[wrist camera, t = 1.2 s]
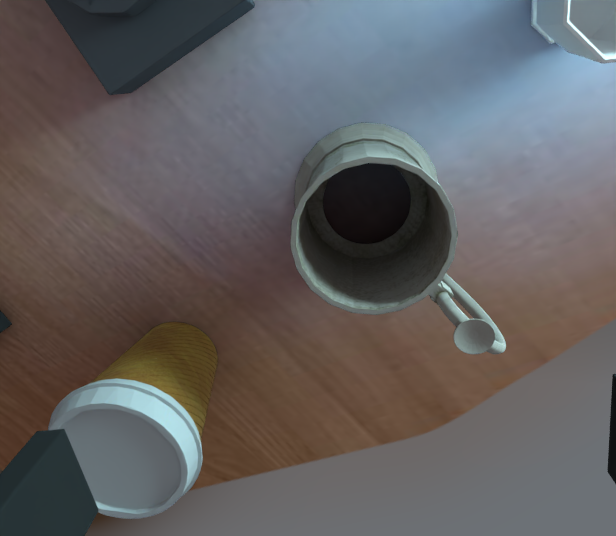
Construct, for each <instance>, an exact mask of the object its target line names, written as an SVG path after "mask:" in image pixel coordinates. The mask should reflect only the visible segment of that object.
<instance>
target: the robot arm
mask: <svg viewBox="0 0 616 536" xmlns="http://www.w3.org/2000/svg"><path fill="white" fill-rule="evenodd" d="M608 473H609V474H610V476H611V477H612V479H613V481H614V482H615V483H616V374H613V381H612V399H611V418H610V437H609V456H608ZM98 511H99V509H98V507H97V505H96V502H95V500H94V498H93V495H92V493H91V491H90V488H89V486H88V483H87V481H86V479H85V476H84V474H83V472H82V469H81V467H80V465H79V462H78V460H77V457H76V455H75V453H74V450H73V448H72V446H71V443H70V441H69V439H68V436H67V434H66V431H65V429H57V430H47V431H37V432H36V433H35V434H34V435H33V436H32V438H31V439H30V440H29V441H28V442H27V443H26V445H25V446H24V447H23V448H22V449H21V450H20V452H19V453H18V454H17V455H16V456H15V457H14V459H13V460H12V461H11V462H10V463H9V464H8V466H7V467H6V468H5V469H4V470H3V471H2V473H1V474H0V536H85V534H86V532H87V530H88V528H89V527H90V525H91V523H92V521H93V520H94V518H95V516H96V514H97V513H98Z"/></svg>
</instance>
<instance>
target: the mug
mask: <svg viewBox="0 0 616 536" xmlns="http://www.w3.org/2000/svg"><path fill="white" fill-rule="evenodd" d="M367 163H375V164H389V165H392V166H394V167H395V168H396V169H397V170H398V171H399V172H400V173H402V175H403V177H404V178H405V180H406V182H407V184H408V185H409V190H410V195H411V204H410V211H409V214H408V216H407V218H406V220H405V222H404V224H403V226H402V227H401V228H400V229H399V230H398V231H397V232H396V233H395V234H394V235H392V236H391V237H389V238H387V239H385V240H383V241H381V242H377V243H372V244H360V243H354V242H351V241H349V240H346V239H344V238H342V237H341V236H340V235H339V234H337V233H336V232H335V231H334V230H333V229H332V227H331V226H330V224H329V223H328V221H327V220H326V217H325V213H324V209H323V195H324V191H325V188H326V186H327V183H328V181H329V179H330V178H331V177H332V176H333V175H335V174H337V173H338V172H340V171H341V170H343V169H346V168H350V167H354V166H358V165H363V164H367ZM294 204H295V208H296V211H295V214H294V216H293V219H292V222H291V243H290V247H291V250H292V254H293V257H294V261H295V264H296V268H297V270H298V272H299V273H300V275H301V276H302V278H303V279H304V280H305V282H306V283H307V285H308V286H309V288H310V289H311V290H312V291H313V292H315V293H316V294H317V295H318V296H320V297H321V298H322V299H324V300H325V301H326V302H327V303H329V304H330V305H333V306H336V307H338V308H341V309H343V310H346V311H349V312H351V313H359V314H371V315H379V314H384V313H389V312H394V311H399V310H402V309H404V308H406V307H408V306H410V305H412V304H414V303H416V302H418V301H420V300H422V299H424V298H425V297H426V296H427V295H429V296H430V298H431V299H432V300H433V301H434V302H435V303H437V304H438V305H439V307H440V308H441V310H442V311H443V312H444V314H445V315H446V316H447V317H448V319H449V320H450V321H451V322H452V323H453V324H454V325H455V326H456V327H457V328H456V329H455V332H454V342H455V344H456V346H457V347H458V348H459V349H460V350H461V351H463V352H465V353H468V354H480V353H483V352H485V351H487V352H489V353H492V354H499V353H503V352H504V351H505V348H506V342H505V340H504V338H503V336H502V334H501V332H500V331H499V329H498V328H497V326H496V325H495V323H494V322H493V321H492V320H491V318H490V317H489V316H488V315H487V314H486V312H485V311H484V310H483V309H482V308H481V307H480V306H479V305H478V304H477V303H476V302H475V301H474V300H473V299H472V298H471V297H470V296H469V295H468V294H467V293H466V292H465V291H464V290H463V289H462V288H461V287H460V286H459V285H458V284H457V283H456V282H455V281H454V280H453V279H452V278H451V277H449V276H448V275H447V274H446V272H447V270H448V268H449V266H450V265H451V263H452V261H453V259H454V254H455V248H456V242H457V237H458V232H457V226H456V219H455V213H454V209H453V207H452V205H451V203H450V201H449V200H448V198H447V196H446V194H445V192H444V190H443V189H442V187H441V186H440V184H439V183H438V181H437V175H436V169H435V167H434V165H433V164H432V162H431V160H430V158H429V156H428V155H427V153H426V151H425V149H424V148H423V147H422V146H420V145H419V144H418V143H417V142H416V141H415V140H414V139H413V138H412V137H410V136H409V135H408V134H407V133H405V132H403V131H400V130H398V129H395V128H393V127H391V126H388V125H386V124H374V123H358V124H354V125H350V126H347V127H343V128H339V129H337V130H335V131H334V132H332V133H331V134H329V135H328V136H326V137H325V138H323V139H321V140H320V141H318V143H317V144H316V145H315V146H314V147H313V149H312V150H311V151H310V152H309V154H308V155H307V156H306V157H305V159H304V160H303V163H302V165H301V168H300V170H299V173H298V176H297V178H296V181H295V199H294ZM452 297H454V298H455V299H456V300H457V301H458V302H459V303H460V304H461V305H462V306H463V307H464V308H465V309H466V310H467V311H468V312H469V313H470V315H471V316H472V317H473V318H474V319H469V318H468V317H467V316H466V315H465V314H464V313H463V312H462V311H461V310H460V309H459V308H458V307H457V306H456V304H455V303H454V302H453V301H452V299H451V298H452Z"/></svg>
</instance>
